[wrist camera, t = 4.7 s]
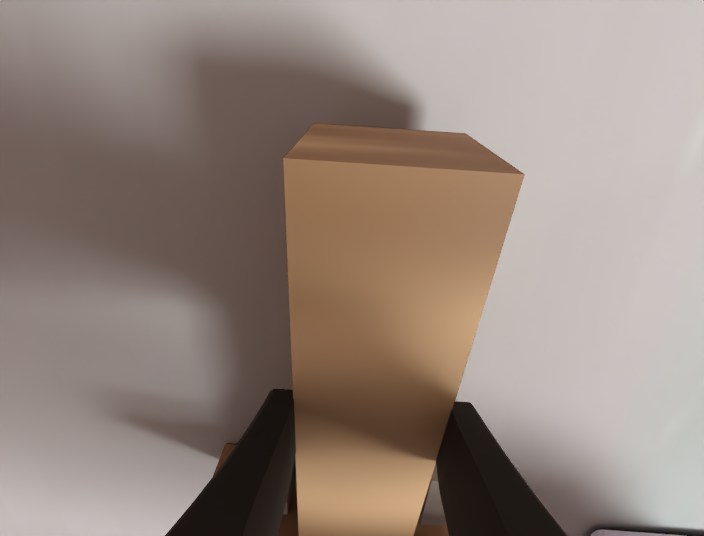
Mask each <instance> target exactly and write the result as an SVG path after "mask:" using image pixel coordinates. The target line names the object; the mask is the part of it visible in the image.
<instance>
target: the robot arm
mask: <svg viewBox="0 0 704 536" xmlns="http://www.w3.org/2000/svg"><path fill="white" fill-rule="evenodd" d="M295 454H296V440H295V414H294V399H293V390H285V389H273V390H272V391H270V393H269V395H268V397H267V398H266V400H265V402H264V404H263V405H262V407H261V409H260V410H259V412H258V413H257V415H256V417H255V418H254V420H253V421H252V423H251V424H250V426H249V427H248V429H247V430H246V432H245V433H244V435H243V436H242V438H241V439H240V441H239V442H238V443H237V445H236V446H235V448H234V449H233V451H232V452H231V453H230V455H229V456H228V458H227V459H226V460H225V462H224V463H223V465H222V466H221V467H220V469H219V470H218V471H217V472H216V474H215V475H214V476H213V478H212V479H211V480H210V481H209V483H208V484H207V485H206V487H205V488H204V489H203V490H202V492H201V493H200V494H199V496H198V497H197V498H196V499H195V501H194V502H193V503H192V504H191V506H190V507H189V508H188V509H187V510H186V512H185V513H184V514H183V515H182V516H181V518H180V519H179V520H178V521H177V522H176V524H175V525H174V526H173V527H172V528H171V529H170V530H169V532H168V533H167V534H166V535H165V536H277V535H278V531H279V527H280V523H281V519H282V515H283V512H284V508H285V504H286V500H287V496H288V492H289V488H290V484H291V479H292V473H293V467H294V460H295ZM436 467H437V476H438V483H439V491H440V496H441V501H442V506H443V510H444V515H445V519H446V524H447V528H448V533H449V536H567V535H566V534H565V532H564V531H563V530H562V529H561V527H560V526H559V525H558V524H557V522H556V521H555V520H554V519H553V517H552V516H551V515H550V513H549V512H548V511H547V510H546V508H545V507H544V506H543V504H542V503H541V502H540V501H539V499H538V498H537V497H536V495H535V494H534V493H533V491H532V490H531V489H530V487H529V486H528V485H527V483H526V482H525V480H524V479H523V478H522V476H521V475H520V474H519V472H518V471H517V470H516V468H515V467H514V465H513V464H512V463H511V461H510V460H509V458H508V457H507V456H506V454H505V453H504V451H503V450H502V448H501V447H500V445H499V444H498V443H497V441H496V440H495V438H494V437H493V435H492V434H491V432H490V431H489V429H488V428H487V426H486V425H485V423H484V422H483V420H482V419H481V417H480V416H479V414H478V413H477V411H476V410H475V408H474V406H473V405H472V404H471V403H468V402H454V405H453V409H452V410H451V413H450V416H449V419H448V422H447V426H446V429H445V432H444V436H443V439H442V442H441V445H440V449H439V452H438V455H437V458H436ZM591 536H685V535H671V534H658V533H644V532H630V531H617V530H596V531H594V532H593V533H592V534H591Z"/></svg>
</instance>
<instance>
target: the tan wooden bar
mask: <svg viewBox="0 0 704 536" xmlns="http://www.w3.org/2000/svg"><path fill="white" fill-rule="evenodd" d="M283 166H284V191H285V215H286V239H287V264H288V288H289V312H290V337H291V361H292V385H293V399H294V414H295V440H296V454H295V458H296V482H297V507H298V531H299V536H413V535H414V532H415V529H416V526H417V522H418V519H419V516H420V513H421V509H422V506H423V503H424V500H425V496H426V493H427V490H428V487H429V483H430V480H431V477H432V474H433V470H434V467H435V464H436V458H437V455H438V452H439V449H440V445H441V442H442V439H443V436H444V432H445V429H446V426H447V422H448V419H449V416H450V413H451V410H452V409H453V405H454V402H455V399H456V396H457V392H458V389H459V386H460V383H461V379H462V376H463V373H464V370H465V366H466V363H467V360H468V357H469V353H470V350H471V347H472V344H473V340H474V337H475V334H476V331H477V327H478V324H479V321H480V318H481V314H482V311H483V308H484V305H485V301H486V298H487V295H488V292H489V288H490V285H491V282H492V279H493V275H494V272H495V269H496V266H497V262H498V259H499V256H500V253H501V249H502V246H503V243H504V240H505V236H506V233H507V230H508V227H509V223H510V220H511V217H512V214H513V210H514V207H515V204H516V201H517V197H518V194H519V191H520V188H521V184H522V181H523V178H524V175H525V174H523V173H522V172H520V171H519V170H517V169H516V168H515V167H513V166H512V165H510V164H509V163H507V162H506V161H504V160H503V159H502V158H500V157H499V156H497V155H496V154H494V153H493V152H491V151H490V150H489V149H487V148H486V147H484V146H483V145H481V144H480V143H478V142H477V141H476V140H474V139H473V138H471V137H470V136H468V135H467V134H465V133H451V132H436V131H421V130H406V129H392V128H377V127H362V126H347V125H332V124H317V123H314V124H313V125H312V127H311V128H310V129H309V130H308V131H307V132H306V133H305V134H304V135H303V137H302V138H301V139H300V140H299V141H298V142H297V143H296V144H295V146H294V147H293V148H292V149H291V150H290V151H289V152H288V153H287V154H286V156H285V157H284V158H283Z"/></svg>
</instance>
